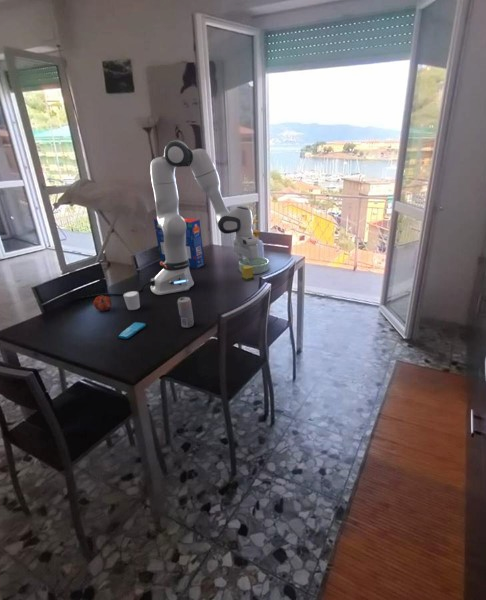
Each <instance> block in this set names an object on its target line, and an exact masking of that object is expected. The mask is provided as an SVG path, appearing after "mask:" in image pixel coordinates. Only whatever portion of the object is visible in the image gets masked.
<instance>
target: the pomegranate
mask: <svg viewBox="0 0 486 600" xmlns="http://www.w3.org/2000/svg"><path fill="white" fill-rule="evenodd" d="M93 306H94V308H95V309H96V310H97V311H99V312H105V311H109V310H110V309H111V307H112V300H111V298H110V297H109V296H108V295H100V296H95V298H94V300H93Z"/></svg>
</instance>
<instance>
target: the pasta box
mask: <svg viewBox="0 0 486 600" xmlns="http://www.w3.org/2000/svg"><path fill="white" fill-rule="evenodd" d="M183 219H184V220H185V223H186V251H187V258H188V260H189V265H190V266H189V267H190V268H189V269H196V270H197V269H199V268H201V267H203V266H205V256H204V255H205V254H204V246H203V238H202V237H203V236H202V228H201V221H200V219H198V218H188V217H187V218H185V217H183ZM153 223H154V230H155V235H156V241H157V247H158V253H159V258H160V259H159V260H160V262H161V261H162V262H165V261H166V258H165V252H164V234H163V230H162V229H161V228H160V227H159V225H158V222H157V217H156V218H153Z"/></svg>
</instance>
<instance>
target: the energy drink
mask: <svg viewBox="0 0 486 600" xmlns="http://www.w3.org/2000/svg"><path fill="white" fill-rule="evenodd" d="M177 308H178V314H179V321H180V326H181V328H184V329H188V328H191V327H193V326H194V325H195V320H194V313H193V306H192V300H191V298H190V296H181V297H179V298H178V299H177Z"/></svg>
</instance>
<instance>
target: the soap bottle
mask: <svg viewBox="0 0 486 600" xmlns="http://www.w3.org/2000/svg"><path fill="white" fill-rule="evenodd" d="M252 222H253V224H256V223H258V222H259V220H258V219H256V220H252ZM252 231H253V235H254V237H255V238H256V239H257V240H258V244H257V247H258V257H263V258H265V247H264V246H265V245H264V242H263V240H261V239H259V238H260V237H259V235H258V234H259V233H260V230H253V229H252Z"/></svg>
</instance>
